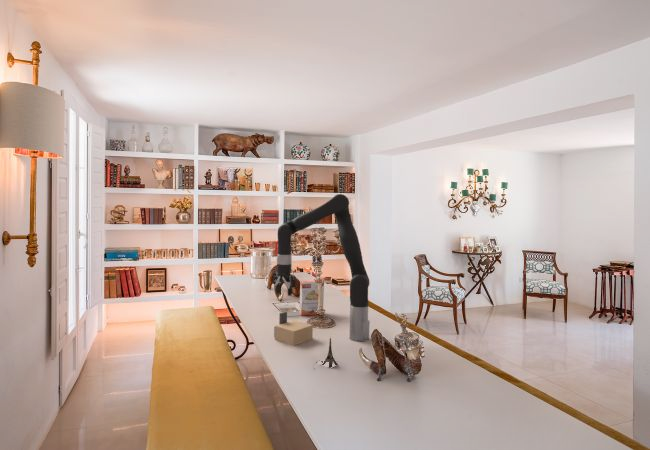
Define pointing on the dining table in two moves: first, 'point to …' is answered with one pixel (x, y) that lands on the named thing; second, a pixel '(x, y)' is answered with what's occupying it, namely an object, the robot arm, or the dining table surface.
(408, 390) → the dining table surface
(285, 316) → the tray
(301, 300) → the cracker box
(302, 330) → the mailer sleeve
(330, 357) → the eiffel tower figurine
